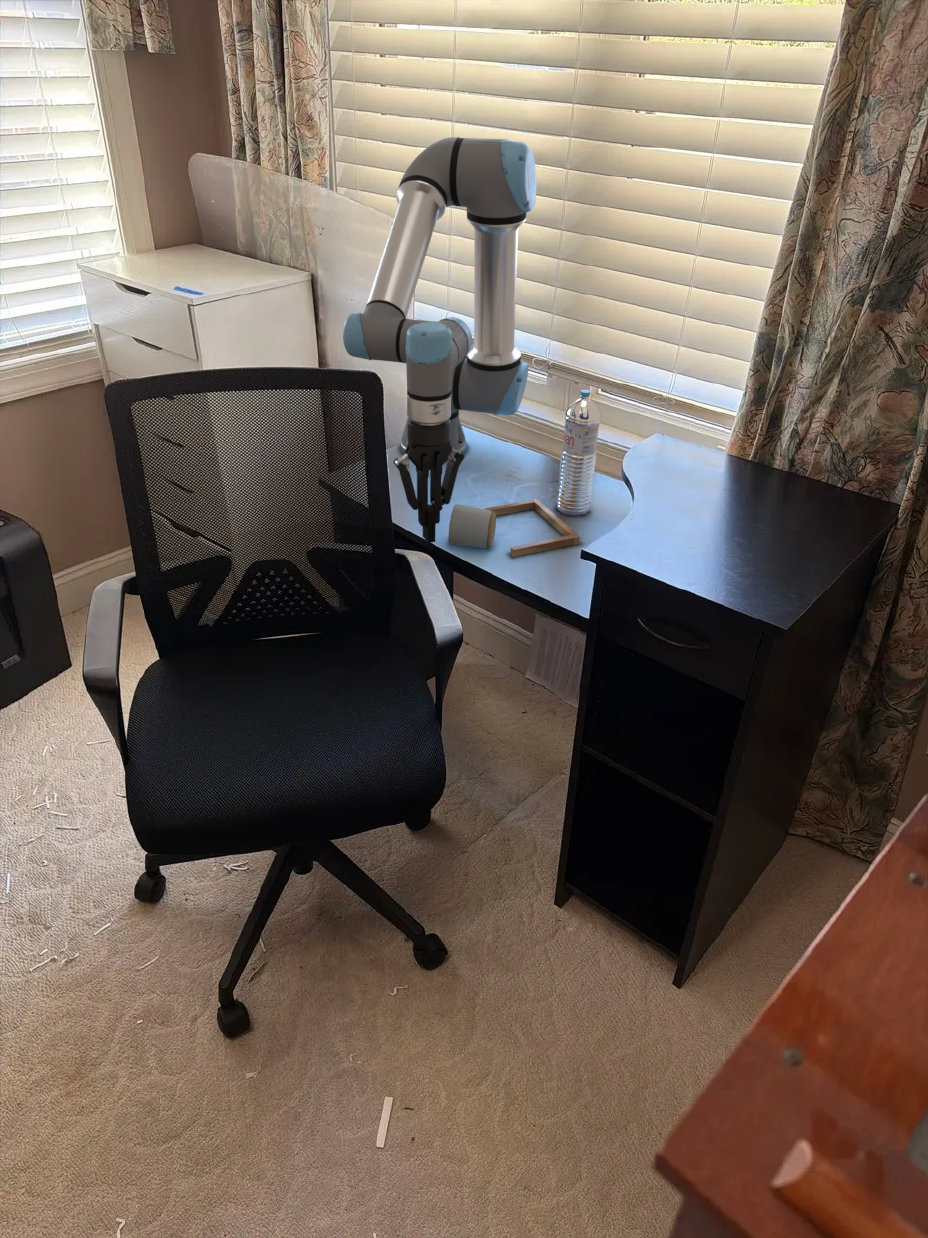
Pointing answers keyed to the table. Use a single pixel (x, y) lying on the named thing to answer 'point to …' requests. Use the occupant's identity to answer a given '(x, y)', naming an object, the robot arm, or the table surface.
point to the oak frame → (567, 532)
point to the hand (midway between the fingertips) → (429, 539)
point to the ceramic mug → (471, 526)
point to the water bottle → (578, 456)
